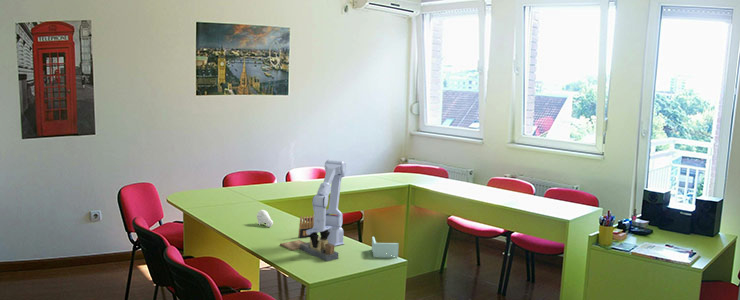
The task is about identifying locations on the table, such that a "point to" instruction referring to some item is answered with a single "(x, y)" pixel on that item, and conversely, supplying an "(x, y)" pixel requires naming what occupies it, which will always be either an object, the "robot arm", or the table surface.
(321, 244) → the tan rectangular block
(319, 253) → the body
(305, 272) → the table surface
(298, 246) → the walnut board
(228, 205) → the table surface
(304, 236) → the ammunition clip
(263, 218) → the white toy sheep
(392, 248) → the right angle wall
